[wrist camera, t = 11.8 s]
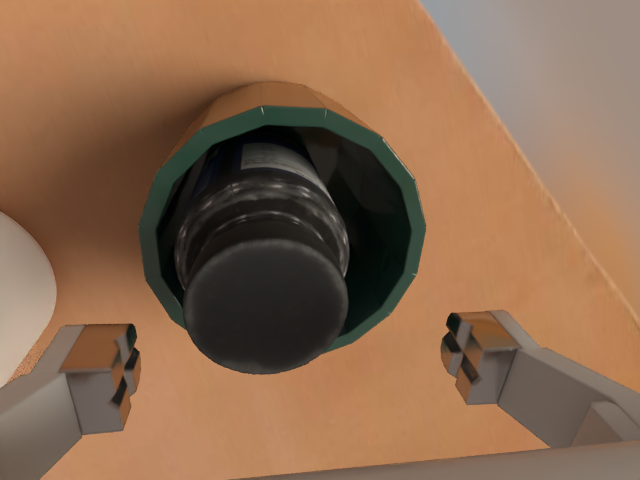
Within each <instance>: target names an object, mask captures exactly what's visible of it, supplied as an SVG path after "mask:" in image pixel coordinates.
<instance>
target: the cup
mask: <svg viewBox="0 0 640 480" xmlns="http://www.w3.org/2000/svg"><path fill="white" fill-rule="evenodd" d="M56 295H57V289H56V281H55V276H54V272H53V270H52V267H51V264H50V262H49V260H48V258H47V256H46V254H45V253H44V251H43V250H42V248H41V247H40V245H39V244H38V243H37V241H36V240H35V239H34V238H33V237H32V236H31V235H30V234H29V233H28V232H27V231H26V230H25V229H24V228H23V227H22V226H21V225H19V224H18V223H17V222H16V221H14V220H13V219H12V218H10V217H9V216H7V215H6V214H4V213H3V212H1V211H0V388H1V387H3V386H4V385H5V384H6V383H7V382H8V380H9V379H10V377H11V376H12V375H13V373H14V372H15V370H16V369H17V368H18V366H19V365H20V363H21V362H22V361H23V359H24V358H25V356H26V355H27V354H28V352H29V351H30V349H31V348H32V347H33V345H34V344H35V342H36V341H37V340H38V338H39V337H40V335H41V334H42V333H43V331H44V330H45V328H46V327H47V325H48V323H49V322H50V319H51V317H52V315H53V312H54V308H55V304H56Z"/></svg>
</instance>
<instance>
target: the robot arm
mask: <svg viewBox="0 0 640 480" xmlns="http://www.w3.org/2000/svg"><path fill="white" fill-rule="evenodd" d="M446 326H447V328H448V329H449V332H448V333H447V334H446V335H445V336H444V337H443V338H442V343H441V359H442V362H443V365H444V367H445V369H446V370H447V372H448V373H449V374H451V375H452V376H454V377H455V378H457V380H456V384H455V386H456V388H457V389H458V391H459V393H460V394H461V396H462V398H463V399H464V401H465V403H466V405H479V404H497V405H498V406H499V407H500V408H501V409H503V410H504V411H505V412H506V413H508V414H509V415H510V416H512V417H513V418H514V419H515V420H517V421H518V422H519V423H520V424H522V425H523V426H524V427H526V428H527V429H528V430H529V431H531V432H532V433H533V434H534V435H536V436H537V437H538V438H539V439H541V440H542V441H543V442H545V443H546V444H547V445H548V446H550V447H551V448H548V449H538V450H528V451H518V452H507V453H497V454H487V455H476V456H466V457H456V458H445V459H435V460H425V461H414V462H404V463H393V464H383V465H373V466H363V467H353V468H342V469H332V470H322V471H312V472H301V473H291V474H281V475H271V476H261V477H250V478H240V479H230V480H640V393H638V392H636V391H634V390H632V389H629V388H627V387H625V386H623V385H621V384H619V383H617V382H615V381H613V380H611V379H609V378H607V377H605V376H603V375H601V374H599V373H597V372H595V371H593V370H591V369H589V368H587V367H585V366H583V365H581V364H579V363H577V362H575V361H573V360H571V359H569V358H567V357H565V356H562V355H560V354H558V353H556V352H554V351H552V350H550V349H548V348H541V347H540V346H539V345H538V344H537V343H536V342H535V341H534V340H533V339H532V337H531V336H530V335H529V334H528V333H527V332H526V331H525V330H524V329H523V328H522V327H521V326H520V325H519V324H518V323H517V322H516V320H515V319H514V318H513V317H512V316H511V315H510V314H509V313H508V312H506V311H504V310H491V311H485V312H459V313H451V314H450V315H449V317H448V319H447V323H446ZM136 339H137V334H136V329H135V326H134V325H133V324H88V325H86V324H82V325H65V326H63V327H61V328H60V329H59V331H58V332H57V334H56V335H55V337H54V338H53V340H52V341H51V343H50V344H49V346H48V347H47V349H46V350H45V352H44V353H43V355H42V356H41V358H40V359H39V360H38V362H37V363H36V365H35V366H34V368H33V369H32V371H31V372H30V374H29V375H21V376H19V377H17V378H16V379H14V380H12V381H11V382H9V383H8V384H6V385H4V386H3V387H1V388H0V480H39V479H40V478H41V477H42V476H43V475H44V474H46V473H47V472H48V471H49V470H50V469H51V468H52V467H53V466H54V465H55V464H56V463H57V462H58V461H59V460H60V459H61V458H62V457H63V456H64V455H65V454H66V453H67V452H68V451H69V450H70V449H71V448H72V447H73V446H74V445H75V444H76V443H77V442H78V441H79V440H80V439H81V438H82V435H87V434H97V433H107V432H117V431H123V430H124V427H125V424H126V421H127V418H128V415H129V412H130V409H131V403H130V396H131V395H133V394H134V393H135V392H136V390H137V387H138V384H139V379H140V372H141V359H140V352H139V351H138V350H137V349H136V348H134V344H135V342H136Z"/></svg>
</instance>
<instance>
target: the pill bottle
mask: <svg viewBox="0 0 640 480" xmlns="http://www.w3.org/2000/svg"><path fill="white" fill-rule="evenodd" d="M349 250H350V249H349V239H348V235H347V231H346V226H345V223H344V221H343V219H342V217H341V215H340V214H339V212H338V210H337V208H336V206H335V204H334V202H333V200H332V199H331V197H330V194H329V193H328V191H327V189H326V186H325V184H324V182H323V181H322V179H321V177H320V175H319V173H318V171H317V169H316V167H315V165H314V163H313V161H312V160H311V158H310V156H309V155H308V153H307V152H306V151H305V150H304V149H303V148H302V147H301V146H300V145H299V144H298V143H296V142H295V141H294V140H292V139H290V138H288V137H286V136H284V135H281V134H278V133H276V132H274V131H269V130H252V131H248V132H246V133H243V134H240V135H238V136H235V137H232V138H230V139H227V140H224V141H222V142H221V143H220V144H219V145H217V146H216V148H215V149H213V150H212V151H211V153H210V154H209V156H208V157H207V158H206V160H205V163H204V164H203V166H202V169H201V171H200V174H199V177H198V179H197V182H196V184H195V187H194V190H193V192H192V195H191V197H190V200H189V203H188V205H187V207H186V210H185V213H184V216H183V218H182V221H181V223H180V225H179V228H178V230H177V233H176V238H175V250H174V260H175V267H176V272H177V274H178V279H179V280H180V283H181V285H182V287H183V289H184V290H185V292H184V298H183V319H184V323H185V327H186V330H187V332H188V334H189V336H190V337H191V339H192V341H193V343H194V344H195V345H196V346H197V347H198V349H199V350H200V351H201V352H202V353H203V354H204V355H205V356H207V357H208V358H209V359H211V360H212V361H213V362H215V363H217V364H219V365H221V366H223V367H225V368H228V369H231V370H234V371H238V372H241V373H248V374H253V375H255V374H261V375H263V374H276V373H280V372H285V371H289V370H292V369H295V368H297V367H301V366H303V365H306V364H308V363H309V362H310V361H312V360H313V359H315V358H317V357H318V356H319V355H320V354H322V353H323V352H325V350H327V349H328V348H329V347H330V346H331V345H332V343H333V342H334V341H335V340H336V338H337V337H338V335H339V334H340V332H341V330H342V328H343V327H344V322H345V319H346V317H347V312H348V305H349V300H348V292H347V286H346V283H345V280H344V278H345V275H346V272H347V268H348V262H349V256H350V254H349Z"/></svg>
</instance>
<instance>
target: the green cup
mask: <svg viewBox="0 0 640 480" xmlns="http://www.w3.org/2000/svg"><path fill="white" fill-rule="evenodd" d="M252 130H269V131H274V132H276V133H278V134H281V135H284V136H286V137H288V138H290V139H292V140H294V141H295V142H296V143H298V144H299V145H300V146H301V147H302V148H303V149H304V150H305V151H306V152H307V153H308V155H309V156H310V158H311V160H312V161H313V163H314V165H315V167H316V169H317V171H318V173H319V175H320V177H321V179H322V181H323V182H324V184H325V186H326V189H327V191H328V193H329V194H330V197H331V199H332V200H333V202H334V204H335V206H336V208H337V210H338V212H339V214H340V215H341V217H342V219H343V221H344V223H345V226H346V231H347V235H348V239H349V249H350V250H349V254H350V256H349V262H348V268H347V272H346V275H345V278H344V280H345V283H346V286H347V292H348V300H349V305H348V312H347V317H346V319H345V322H344V327H343V328H342V330H341V332H340V334H339V335H338V337H337V338H336V340H335V341H334V342H333V343H332V345H331V346H330V347H329V348H328V349H327V350H325V352H323V353H322V354H324V353H326V352H329V351H332V350H335V349H338V348H340V347H343V346H346V345H349V344H351V343H353V342H355V341H356V340H358V339H359V338H360V337H361V336H363V335H364V334H365V333H367V332H368V331H369V330H371V329H372V328H373V327H374V326H376V325H377V324H378V323H380V322H381V321H382V320H384V319H385V318H386V317H388V316H389V315H390V314H391V313H392V312H393V310H394V309H395V307H396V306H397V304H398V303H399V301H400V300H401V298H402V296H403V295H404V293H405V292H406V290H407V289H408V287H409V286H410V284H411V283H412V281H413V280H414V278H415V277H416V274H417V272H418V267H419V262H420V257H421V252H422V247H423V242H424V237H425V232H426V223H425V219H424V214H423V210H422V205H421V201H420V197H419V192H418V188H417V183H416V180H415V178H414V176H413V175H412V174H411V172H410V171H409V170H408V168H407V167H406V166H405V165H404V163H403V162H402V161H401V160H400V158H399V157H398V156H397V155H396V153H395V152H394V151H393V149H392V148H391V147H390V146H389V144H388V143H387V142H386V141H385V139H384V138H383V137H382V136H381V135H380V134H378V133H377V132H376V131H374V130H373V129H372V128H371V127H369V126H368V125H367V124H365V123H364V122H363V121H362V120H360V119H359V118H358V117H356V116H355V115H354V114H352V113H351V112H350V111H349V110H347V109H346V108H345V107H343V106H342V105H341V104H340V103H338V102H336V101H334V100H332V99H330V98H328V97H326V96H325V95H323V94H321V93H320V92H317V91H315V90H313V89H311V88H309V87H307V86H305V85H302V84H294V83H286V82H260V83H259V82H257V83H254V84H251V85H247V86H244V87H241V88H238V89H236V90H234V91H232V92H229V93H227V94H225V95H223V96H220V97H219V98H217V99H216V100H215V101H214V102H213V103H212V104H211V105H210V106H209V107H208V108H207V109H206V110H205V111H204V112H203V113H202V114H201V115H200V116H199V117H198V118H197V119H196V120H195V121H194V122H193V123H192V124H191V125H190V126H189V128H188V129H187V130H186V132H185V133H184V135H183V136H182V137H181V139H180V140H179V141H178V143H177V144H176V146H175V147H174V148H173V150H172V151H171V153H170V154H169V155H168V157H167V158H166V159H165V161H164V162H163V164H162V165H161V166H160V168H159V169H158V171H157V173H156V174H155V176H154V179H153V182H152V185H151V188H150V191H149V194H148V197H147V200H146V203H145V206H144V209H143V212H142V214H141V217H140V220H139V223H138V233H139V240H140V248H141V255H142V262H143V269H144V276H145V280H146V281H147V283H148V284H149V286H150V288H151V289H152V291H153V292H154V294H155V295H156V297H157V298H158V300H159V301H160V303H161V304H162V306H163V307H164V309H165V310H166V312H167V313H168V315H169V316H170V318H171V319H172V320H173V321H174V322H175V323H177V324H178V325H180V326H181V327H183V328H184V329H185V330H186V327H185V323H184V319H183V298H184V292H185V290H184V289H183V287H182V285H181V283H180V280H179V279H178V274H177V272H176V267H175V260H174V250H175V238H176V233H177V230H178V228H179V225H180V223H181V221H182V218H183V216H184V213H185V210H186V207H187V205H188V203H189V200H190V197H191V195H192V192H193V190H194V187H195V184H196V182H197V179H198V177H199V174H200V171H201V169H202V166H203V164H204V163H205V160H206V158H207V157H208V156H209V154H210V153H211V151H212V150H213V149H215V148H216V146H217V145H219V144H220V143H221V142H222V141H224V140H227V139H230V138H232V137H235V136H238V135H240V134H243V133H246V132H248V131H252ZM320 355H321V354H320Z"/></svg>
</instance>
